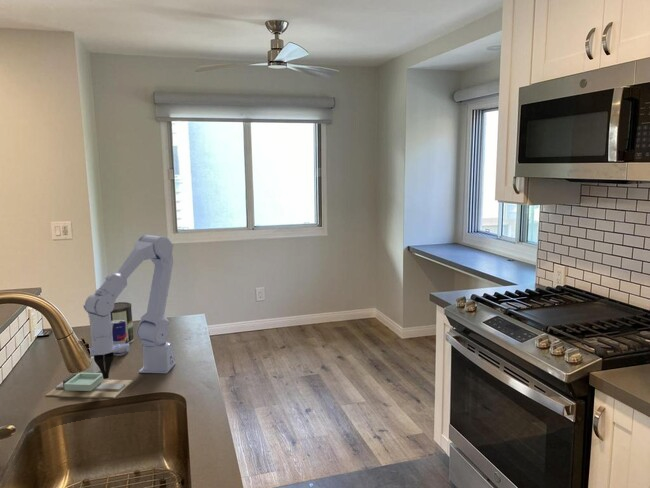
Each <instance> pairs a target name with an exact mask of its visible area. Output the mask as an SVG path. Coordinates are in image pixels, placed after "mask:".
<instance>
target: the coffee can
mask: <svg viewBox="0 0 650 488" xmlns="http://www.w3.org/2000/svg"><path fill="white" fill-rule="evenodd" d="M110 315H111V321H112V320H115V319H125V320H126V323H127V336H128V343H129V344H131V343H133V342H134V341H135V337H134V336H135V335H134V327H133V326H134V325H133V312H132V303H130V302H126V301H124V302H123V301H119V302H115V303H114V309H113V311H111V312H110Z"/></svg>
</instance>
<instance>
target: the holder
mask: <svg viewBox="0 0 650 488" xmlns="http://www.w3.org/2000/svg"><path fill="white" fill-rule="evenodd" d="M103 380H106V379H103V375H102V372H98V373H83V372H81V373H79V372H78V373H77V374H76V376H74V377H73V378H72V379H70V380H69V381H67V382H66V383H65V384H64V389H65V390H75V391H92V390H93V389H94V388H95V387H96V386H97V385H99V384H100V383H101V382H102V381H103Z"/></svg>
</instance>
